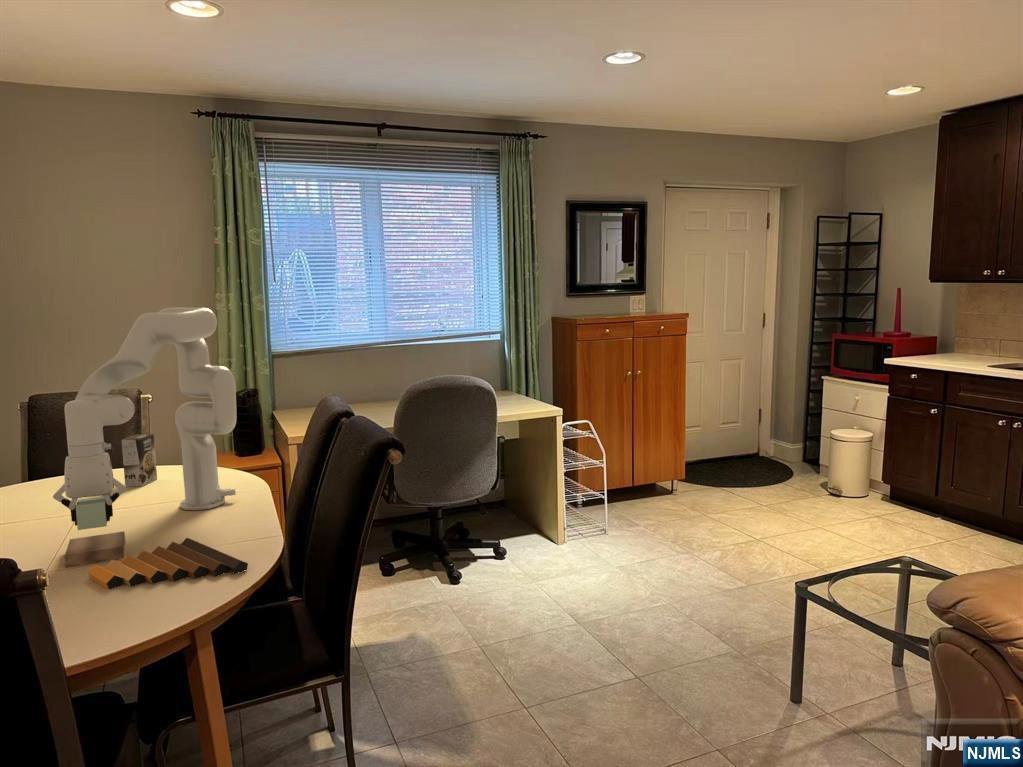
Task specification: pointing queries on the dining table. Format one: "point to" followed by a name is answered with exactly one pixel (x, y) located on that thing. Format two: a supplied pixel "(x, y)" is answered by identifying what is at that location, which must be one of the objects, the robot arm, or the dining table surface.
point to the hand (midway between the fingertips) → (92, 521)
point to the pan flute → (166, 565)
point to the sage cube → (91, 513)
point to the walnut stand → (95, 549)
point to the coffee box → (139, 460)
